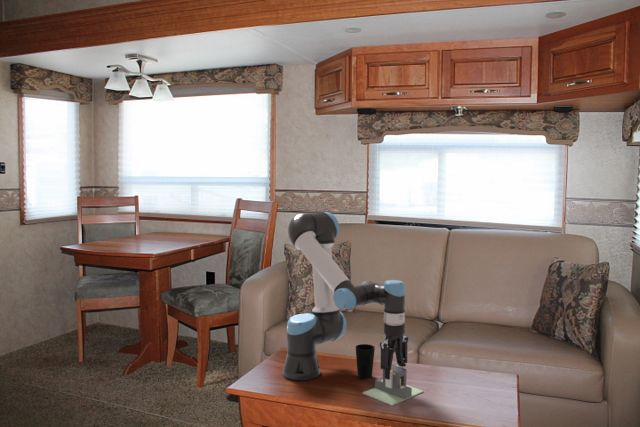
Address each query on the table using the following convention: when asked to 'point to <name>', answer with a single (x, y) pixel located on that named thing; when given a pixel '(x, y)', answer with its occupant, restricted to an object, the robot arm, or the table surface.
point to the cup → (365, 360)
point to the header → (391, 392)
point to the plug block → (397, 376)
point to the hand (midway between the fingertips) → (394, 385)
